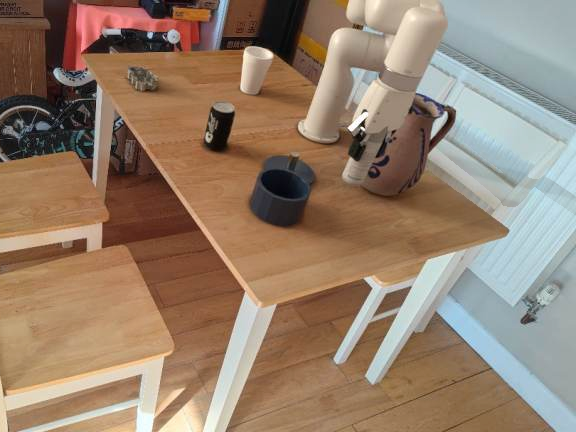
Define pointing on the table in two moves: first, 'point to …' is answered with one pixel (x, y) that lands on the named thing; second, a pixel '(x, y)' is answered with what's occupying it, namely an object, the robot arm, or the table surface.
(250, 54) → the foam cup
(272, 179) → the tin
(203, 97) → the table surface
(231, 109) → the beverage can
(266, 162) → the lid
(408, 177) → the ceramic pitcher
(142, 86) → the egg carton
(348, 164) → the container
